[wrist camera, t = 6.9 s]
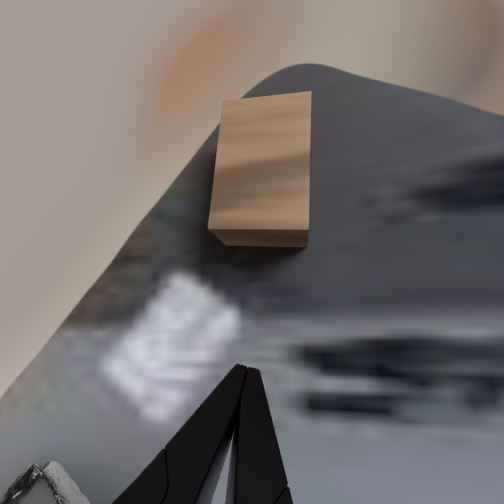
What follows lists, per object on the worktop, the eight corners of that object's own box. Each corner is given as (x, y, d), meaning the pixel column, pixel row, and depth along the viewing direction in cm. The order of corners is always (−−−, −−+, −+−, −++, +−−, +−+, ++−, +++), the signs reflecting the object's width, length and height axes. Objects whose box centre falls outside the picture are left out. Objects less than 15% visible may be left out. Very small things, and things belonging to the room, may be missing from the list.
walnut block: (308, 229, 16) (311, 91, 18) (207, 228, 17) (222, 100, 20) (306, 248, 20) (309, 135, 23) (227, 246, 22) (237, 140, 24)
